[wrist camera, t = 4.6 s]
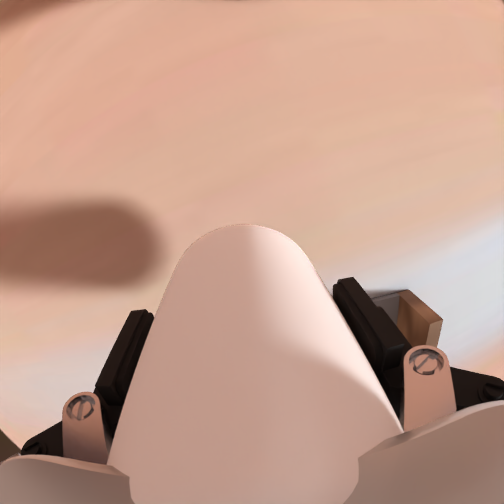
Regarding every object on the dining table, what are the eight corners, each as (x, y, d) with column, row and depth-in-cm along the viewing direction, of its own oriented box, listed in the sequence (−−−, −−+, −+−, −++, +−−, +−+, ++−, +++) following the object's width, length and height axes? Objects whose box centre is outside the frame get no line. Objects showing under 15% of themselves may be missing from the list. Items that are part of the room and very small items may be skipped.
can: (197, 353, 14) (178, 586, 3) (154, 239, 12) (-1, 532, 1) (319, 328, 14) (404, 556, 3) (302, 206, 12) (531, 495, 1)
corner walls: (236, 324, 21) (237, 369, 16) (408, 289, 21) (442, 319, 16) (264, 448, 26) (269, 484, 21) (385, 418, 26) (401, 449, 21)
